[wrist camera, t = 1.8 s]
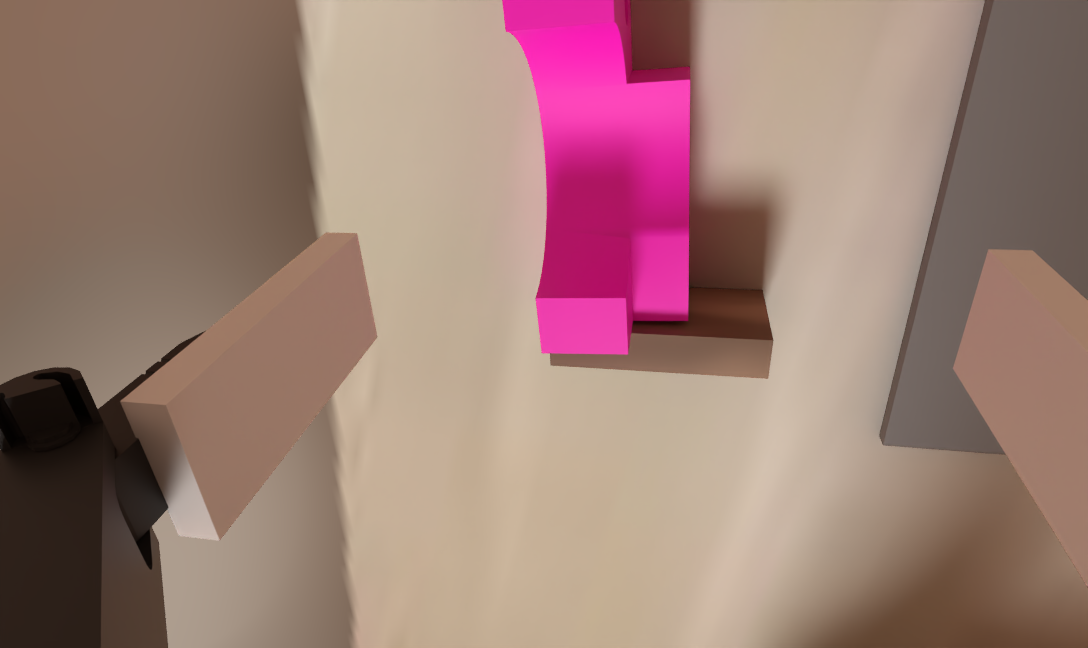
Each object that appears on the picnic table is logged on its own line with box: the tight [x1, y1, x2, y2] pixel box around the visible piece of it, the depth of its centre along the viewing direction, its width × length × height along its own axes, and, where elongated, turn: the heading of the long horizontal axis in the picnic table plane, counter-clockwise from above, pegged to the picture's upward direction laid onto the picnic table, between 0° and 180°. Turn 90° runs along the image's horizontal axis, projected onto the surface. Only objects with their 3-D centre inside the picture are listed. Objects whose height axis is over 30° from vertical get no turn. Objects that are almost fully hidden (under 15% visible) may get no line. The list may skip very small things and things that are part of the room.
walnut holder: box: [550, 288, 773, 379], centre depth 28 cm, size 21×10×5 cm, turn 3°
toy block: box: [502, 0, 690, 355], centre depth 28 cm, size 15×6×8 cm, turn 6°
